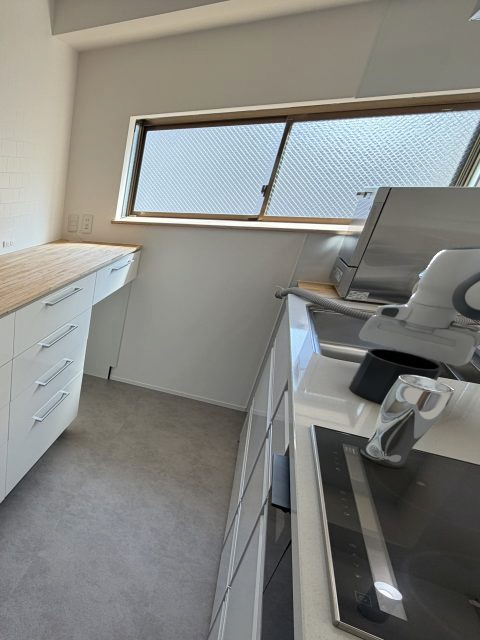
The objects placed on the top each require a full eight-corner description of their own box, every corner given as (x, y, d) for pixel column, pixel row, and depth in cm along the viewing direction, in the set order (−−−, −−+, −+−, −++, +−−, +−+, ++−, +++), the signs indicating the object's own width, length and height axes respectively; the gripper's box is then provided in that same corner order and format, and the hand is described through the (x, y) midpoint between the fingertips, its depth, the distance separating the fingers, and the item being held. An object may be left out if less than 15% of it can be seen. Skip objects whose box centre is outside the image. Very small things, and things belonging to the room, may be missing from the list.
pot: (429, 403, 94) (453, 365, 90) (405, 413, 89) (428, 374, 85) (364, 380, 104) (382, 345, 100) (338, 389, 99) (356, 352, 94)
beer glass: (416, 465, 72) (466, 389, 65) (394, 473, 70) (443, 395, 63) (369, 443, 78) (411, 371, 71) (347, 450, 75) (388, 376, 69)
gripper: (495, 327, 92) (459, 383, 98) (381, 303, 108) (357, 352, 114) (485, 331, 89) (449, 387, 95) (370, 305, 105) (345, 355, 111)
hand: (398, 368), depth 105 cm, fingers closed on lid, 2 cm apart
